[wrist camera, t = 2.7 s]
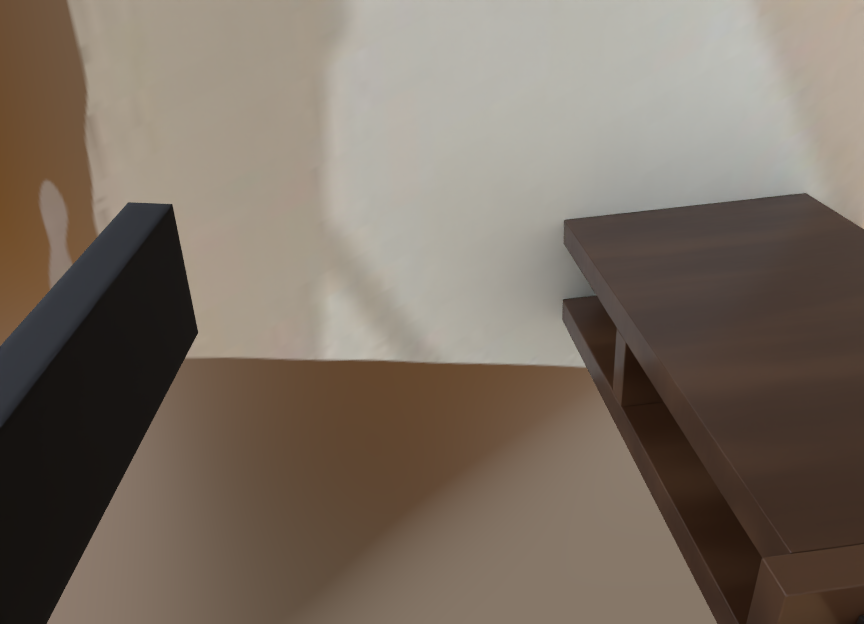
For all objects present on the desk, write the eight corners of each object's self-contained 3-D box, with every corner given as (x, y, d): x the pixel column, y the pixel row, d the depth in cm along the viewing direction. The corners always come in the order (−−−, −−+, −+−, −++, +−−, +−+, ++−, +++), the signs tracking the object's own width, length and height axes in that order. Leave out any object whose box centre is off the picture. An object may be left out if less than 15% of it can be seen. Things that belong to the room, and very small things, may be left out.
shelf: (549, 221, 47) (844, 689, 19) (806, 193, 48) (1457, 600, 20) (548, 322, 51) (790, 831, 23) (785, 294, 52) (1301, 752, 24)
